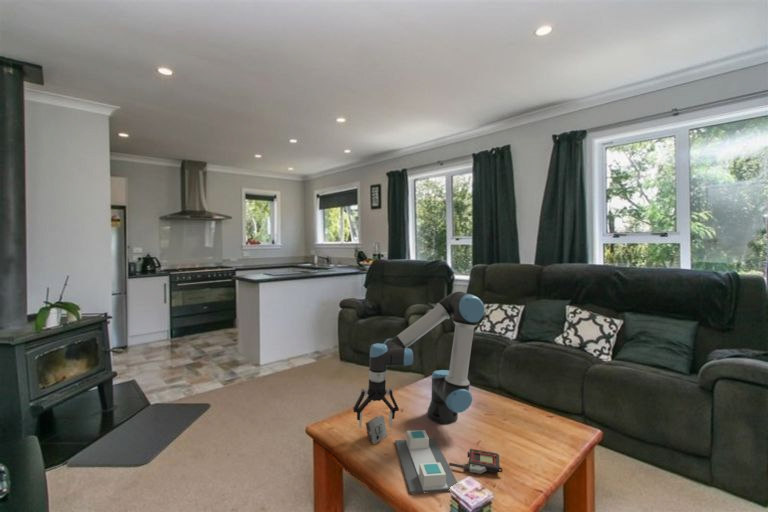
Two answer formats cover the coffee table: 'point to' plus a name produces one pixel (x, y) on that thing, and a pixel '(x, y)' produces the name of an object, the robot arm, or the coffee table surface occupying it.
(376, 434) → the electrical switch
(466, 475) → the coffee table surface
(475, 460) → the walkie-talkie
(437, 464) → the rail board
